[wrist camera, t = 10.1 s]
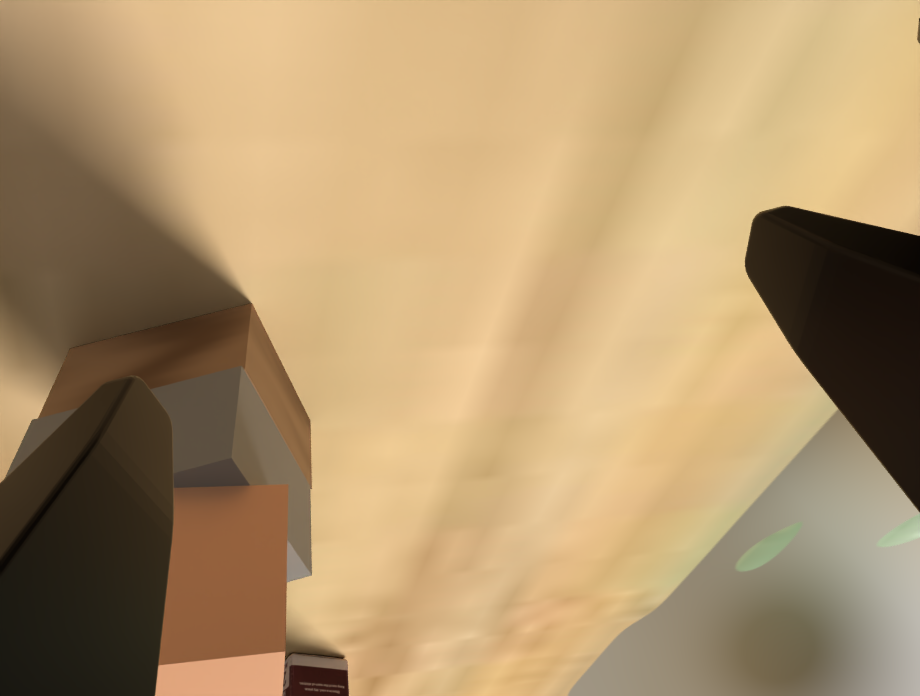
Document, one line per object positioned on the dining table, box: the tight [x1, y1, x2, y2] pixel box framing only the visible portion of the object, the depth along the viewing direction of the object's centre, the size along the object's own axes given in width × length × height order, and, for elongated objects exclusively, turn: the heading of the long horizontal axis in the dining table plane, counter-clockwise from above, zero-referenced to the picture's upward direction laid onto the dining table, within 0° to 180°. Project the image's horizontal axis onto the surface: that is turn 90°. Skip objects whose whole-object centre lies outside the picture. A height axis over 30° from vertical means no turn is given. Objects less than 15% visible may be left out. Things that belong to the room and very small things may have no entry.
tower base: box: [38, 303, 312, 489], centre depth 23 cm, size 7×7×4 cm
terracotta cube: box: [155, 484, 288, 696], centre depth 17 cm, size 5×5×5 cm
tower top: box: [5, 366, 312, 582], centre depth 20 cm, size 7×7×4 cm
